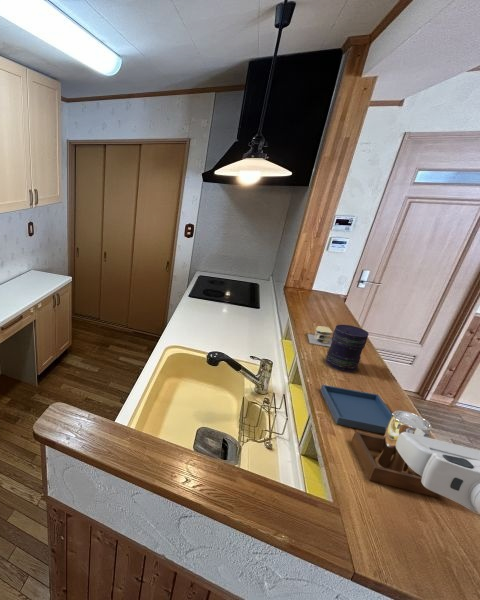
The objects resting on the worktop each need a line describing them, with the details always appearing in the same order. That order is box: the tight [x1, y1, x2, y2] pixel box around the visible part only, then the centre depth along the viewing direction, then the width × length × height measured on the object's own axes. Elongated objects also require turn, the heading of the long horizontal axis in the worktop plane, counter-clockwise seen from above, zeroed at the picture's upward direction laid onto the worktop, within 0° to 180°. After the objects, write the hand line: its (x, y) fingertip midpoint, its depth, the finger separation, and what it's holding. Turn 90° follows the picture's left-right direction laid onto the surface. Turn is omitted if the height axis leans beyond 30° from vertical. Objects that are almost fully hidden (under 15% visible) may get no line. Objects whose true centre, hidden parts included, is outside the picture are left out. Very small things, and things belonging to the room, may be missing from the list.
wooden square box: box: [350, 431, 441, 498], centre depth 80 cm, size 13×13×4 cm
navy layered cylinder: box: [324, 324, 369, 373], centre depth 122 cm, size 10×10×15 cm
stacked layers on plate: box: [306, 325, 333, 348], centre depth 142 cm, size 10×9×6 cm
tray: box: [320, 384, 393, 435], centre depth 99 cm, size 15×17×2 cm
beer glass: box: [374, 409, 433, 474], centre depth 78 cm, size 7×7×15 cm
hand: (451, 439), depth 63 cm, fingers open, 8 cm apart
